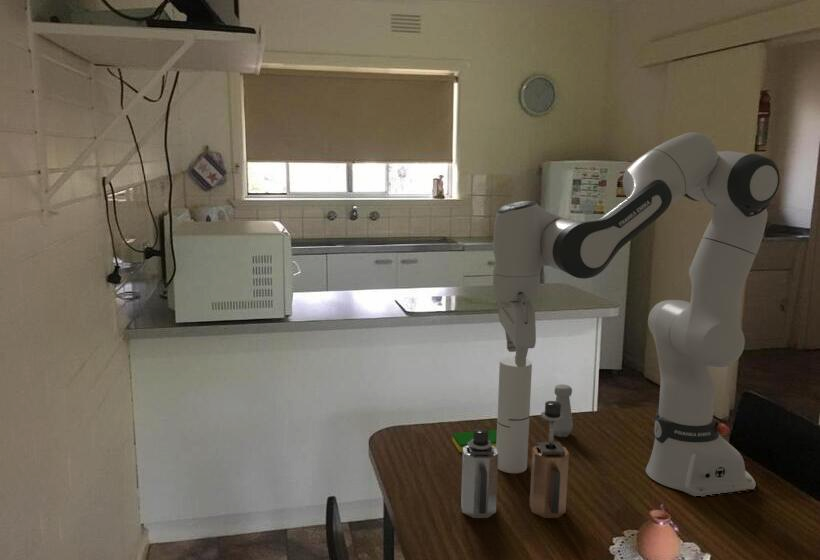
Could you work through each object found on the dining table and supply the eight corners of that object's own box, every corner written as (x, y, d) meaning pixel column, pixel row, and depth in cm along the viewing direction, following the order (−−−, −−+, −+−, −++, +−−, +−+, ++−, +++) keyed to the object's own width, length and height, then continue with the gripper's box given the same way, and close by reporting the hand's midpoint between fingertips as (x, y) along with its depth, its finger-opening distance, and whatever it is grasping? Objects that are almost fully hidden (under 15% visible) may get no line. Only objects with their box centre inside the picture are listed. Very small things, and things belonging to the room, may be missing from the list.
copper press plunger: (558, 457, 135) (561, 399, 132) (563, 467, 130) (567, 407, 128) (536, 457, 134) (539, 399, 132) (541, 467, 130) (544, 407, 128)
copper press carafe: (559, 500, 138) (563, 439, 135) (571, 524, 129) (575, 459, 126) (527, 500, 137) (530, 439, 135) (536, 524, 128) (540, 459, 126)
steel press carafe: (492, 500, 137) (494, 439, 135) (499, 524, 128) (502, 459, 126) (460, 500, 137) (461, 439, 135) (464, 524, 128) (466, 459, 126)
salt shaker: (575, 432, 172) (578, 385, 169) (568, 440, 167) (571, 391, 165) (553, 427, 175) (556, 380, 172) (546, 435, 170) (548, 386, 168)
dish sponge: (451, 442, 166) (451, 432, 166) (504, 437, 169) (504, 428, 169) (459, 454, 160) (460, 444, 159) (514, 449, 163) (514, 440, 162)
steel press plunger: (488, 484, 135) (490, 427, 133) (491, 495, 131) (493, 436, 129) (466, 484, 135) (468, 427, 133) (469, 495, 131) (471, 436, 129)
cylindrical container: (526, 474, 149) (531, 367, 144) (494, 471, 150) (498, 365, 145) (527, 460, 155) (532, 358, 151) (496, 457, 157) (500, 355, 152)
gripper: (545, 299, 116) (543, 375, 118) (523, 277, 136) (522, 342, 138) (509, 300, 116) (508, 376, 118) (492, 278, 136) (492, 343, 138)
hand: (515, 357), depth 128 cm, fingers open, 8 cm apart
